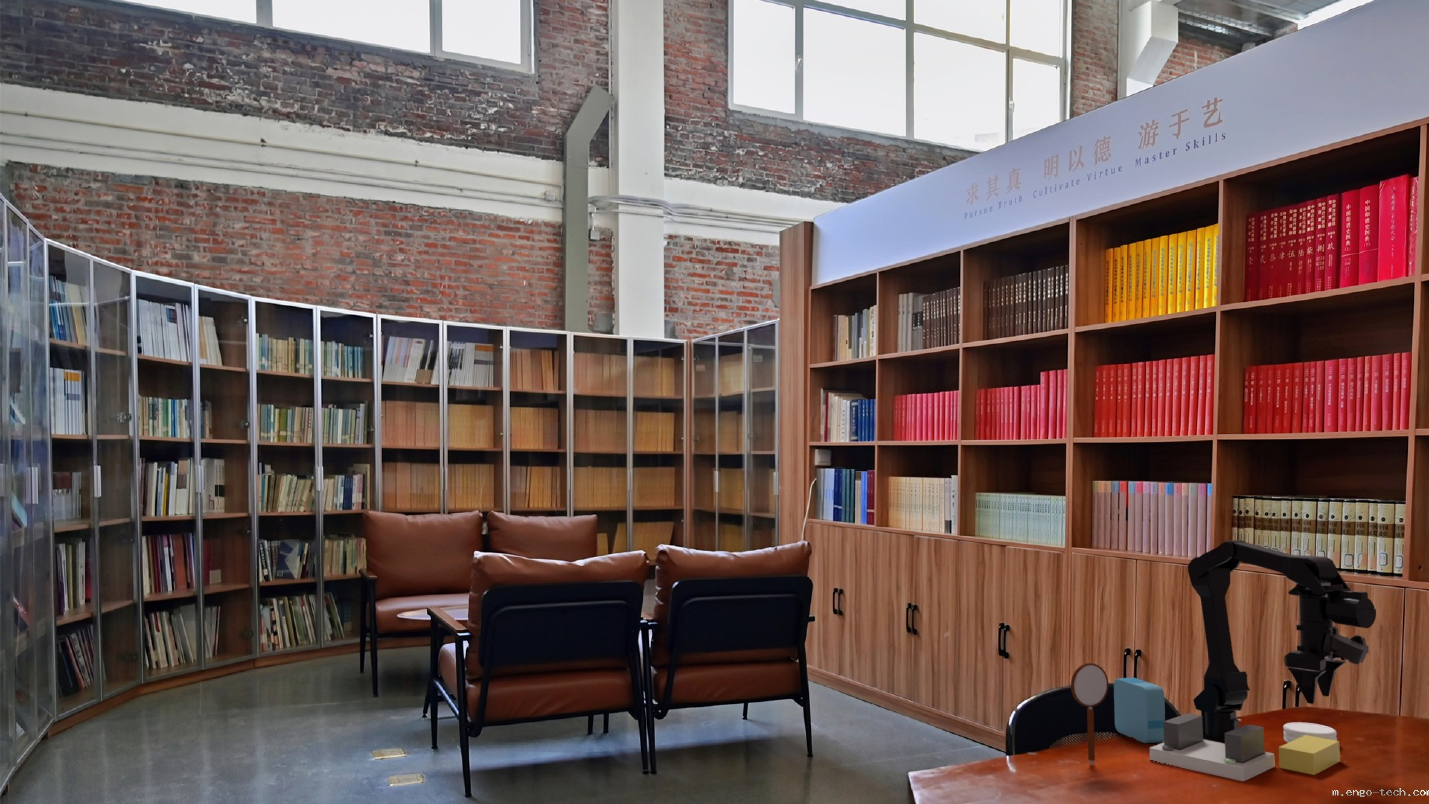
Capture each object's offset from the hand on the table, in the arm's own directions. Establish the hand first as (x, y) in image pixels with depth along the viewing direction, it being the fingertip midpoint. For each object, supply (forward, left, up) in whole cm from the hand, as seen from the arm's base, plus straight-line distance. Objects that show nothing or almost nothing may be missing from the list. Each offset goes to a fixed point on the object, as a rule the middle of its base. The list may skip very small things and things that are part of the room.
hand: (1318, 699), depth 196 cm
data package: (-34, -5, -14) cm, 37 cm away
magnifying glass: (-30, -33, -14) cm, 47 cm away
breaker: (-21, -12, -11) cm, 27 cm away
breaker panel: (-15, -13, -13) cm, 24 cm away
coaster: (-8, +19, -14) cm, 25 cm away
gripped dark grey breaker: (-9, -12, -11) cm, 19 cm away
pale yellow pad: (-2, +1, -13) cm, 14 cm away
